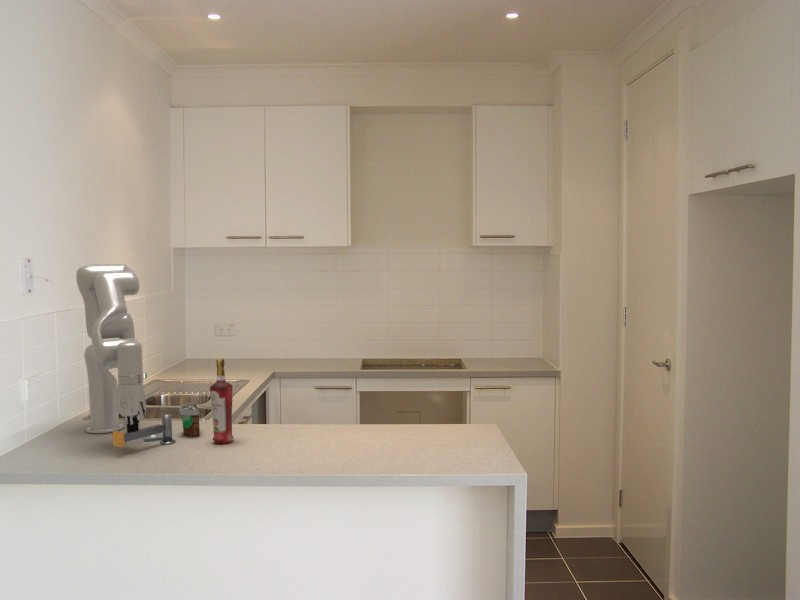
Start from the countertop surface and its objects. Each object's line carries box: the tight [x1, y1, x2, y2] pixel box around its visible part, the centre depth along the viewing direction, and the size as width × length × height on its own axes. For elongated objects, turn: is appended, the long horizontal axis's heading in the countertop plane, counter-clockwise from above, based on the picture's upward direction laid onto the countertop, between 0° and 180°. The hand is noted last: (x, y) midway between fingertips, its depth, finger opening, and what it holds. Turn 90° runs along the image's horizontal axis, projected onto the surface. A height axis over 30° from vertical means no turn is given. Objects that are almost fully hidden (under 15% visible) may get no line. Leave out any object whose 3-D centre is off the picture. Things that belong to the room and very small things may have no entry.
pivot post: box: [159, 413, 176, 446], centre depth 233 cm, size 5×5×10 cm
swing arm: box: [112, 423, 163, 448], centre depth 225 cm, size 16×4×4 cm, turn 145°
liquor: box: [209, 358, 235, 445], centre depth 232 cm, size 7×7×28 cm
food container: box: [179, 402, 201, 438], centre depth 244 cm, size 12×6×10 cm, turn 21°
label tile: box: [142, 432, 163, 443], centre depth 240 cm, size 8×6×1 cm
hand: (133, 435), depth 226 cm, fingers closed
